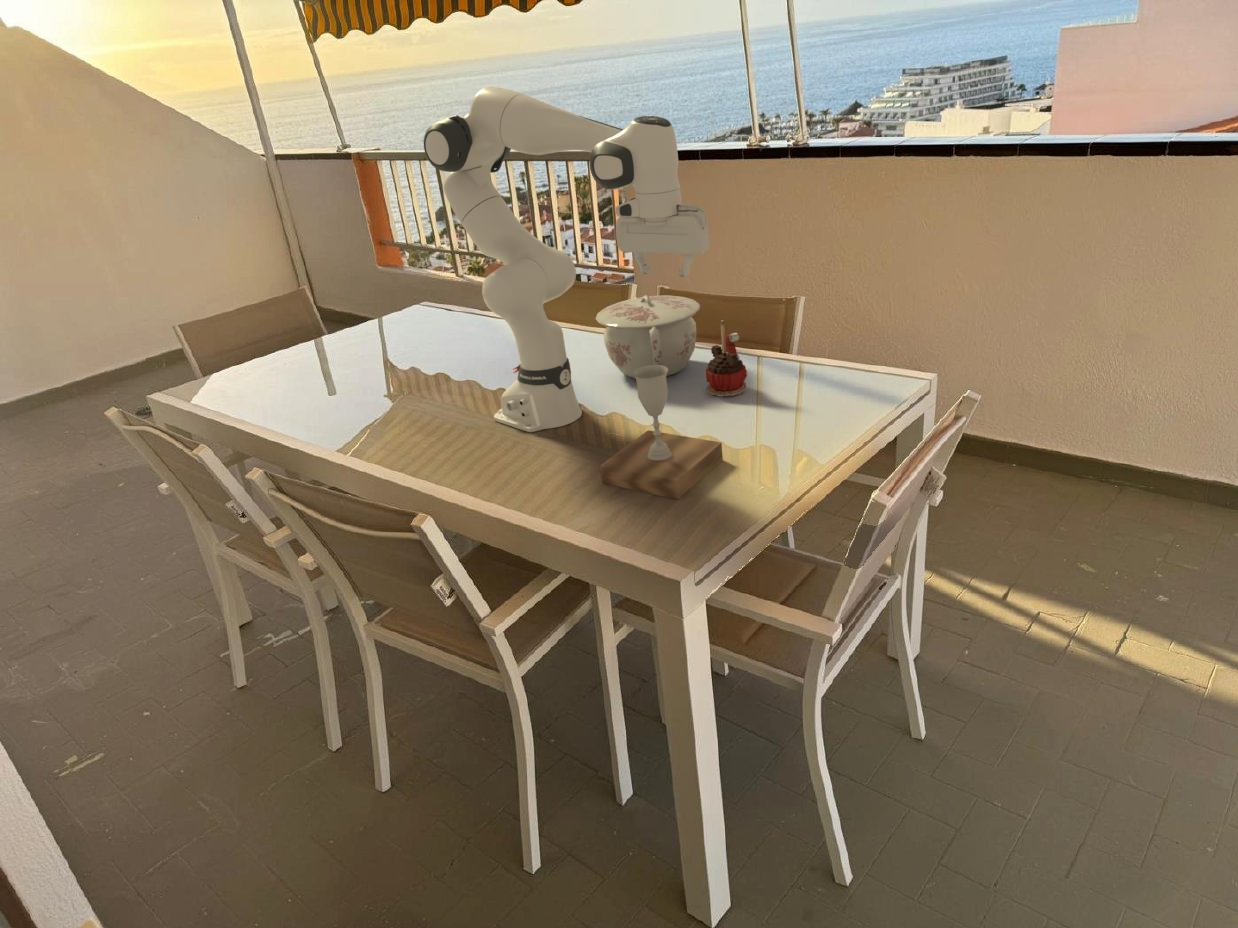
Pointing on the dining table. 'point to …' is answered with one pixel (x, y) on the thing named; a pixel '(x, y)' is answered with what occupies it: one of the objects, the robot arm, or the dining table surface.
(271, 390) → the dining table surface
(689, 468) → the plinth
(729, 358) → the cake
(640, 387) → the chalice
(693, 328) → the chamber pot
